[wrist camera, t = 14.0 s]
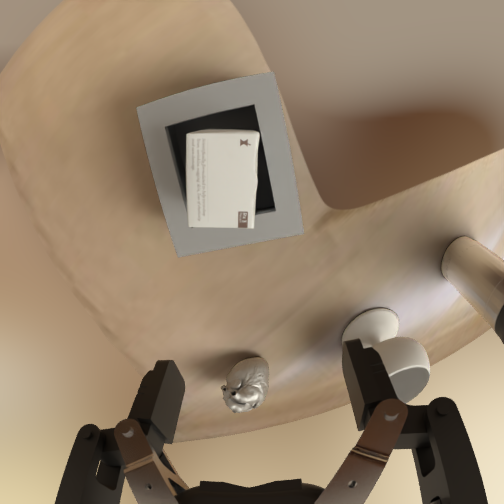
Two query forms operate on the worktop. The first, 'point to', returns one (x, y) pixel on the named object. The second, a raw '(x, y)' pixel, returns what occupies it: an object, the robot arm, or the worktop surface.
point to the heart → (246, 385)
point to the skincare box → (221, 177)
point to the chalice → (392, 351)
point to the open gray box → (223, 116)
